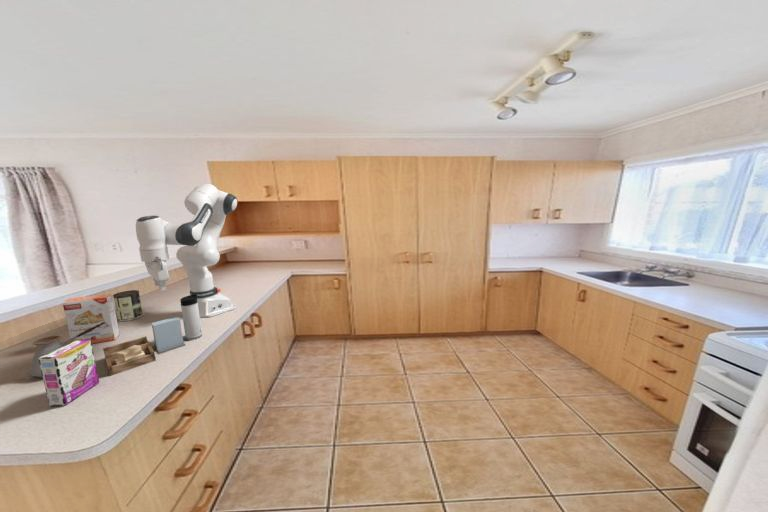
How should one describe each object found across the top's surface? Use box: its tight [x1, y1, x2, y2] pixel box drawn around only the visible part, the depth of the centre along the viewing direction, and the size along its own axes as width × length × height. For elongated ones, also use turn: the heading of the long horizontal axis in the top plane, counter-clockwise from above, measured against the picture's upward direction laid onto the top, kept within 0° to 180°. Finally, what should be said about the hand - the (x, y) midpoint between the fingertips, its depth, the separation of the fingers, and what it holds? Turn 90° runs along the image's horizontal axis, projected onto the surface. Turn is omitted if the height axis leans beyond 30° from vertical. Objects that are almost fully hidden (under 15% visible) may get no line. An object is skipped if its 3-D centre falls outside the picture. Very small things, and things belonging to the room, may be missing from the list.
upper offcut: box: [117, 345, 142, 361], centre depth 103 cm, size 6×3×3 cm, turn 170°
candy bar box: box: [38, 340, 100, 407], centre depth 86 cm, size 11×5×16 cm, turn 5°
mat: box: [153, 341, 186, 355], centre depth 118 cm, size 9×10×1 cm
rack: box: [102, 336, 157, 377], centre depth 106 cm, size 13×16×5 cm
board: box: [151, 316, 184, 351], centre depth 117 cm, size 9×4×11 cm, turn 140°
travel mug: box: [179, 294, 203, 341], centre depth 124 cm, size 6×7×20 cm
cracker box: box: [62, 293, 120, 345], centre depth 120 cm, size 14×6×21 cm, turn 117°
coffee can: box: [112, 289, 144, 322], centre depth 146 cm, size 10×10×14 cm
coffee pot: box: [27, 322, 108, 379], centre depth 102 cm, size 21×12×15 cm, turn 134°
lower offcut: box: [115, 351, 145, 365], centre depth 104 cm, size 8×4×4 cm, turn 143°
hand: (160, 287), depth 113 cm, fingers open, 8 cm apart
